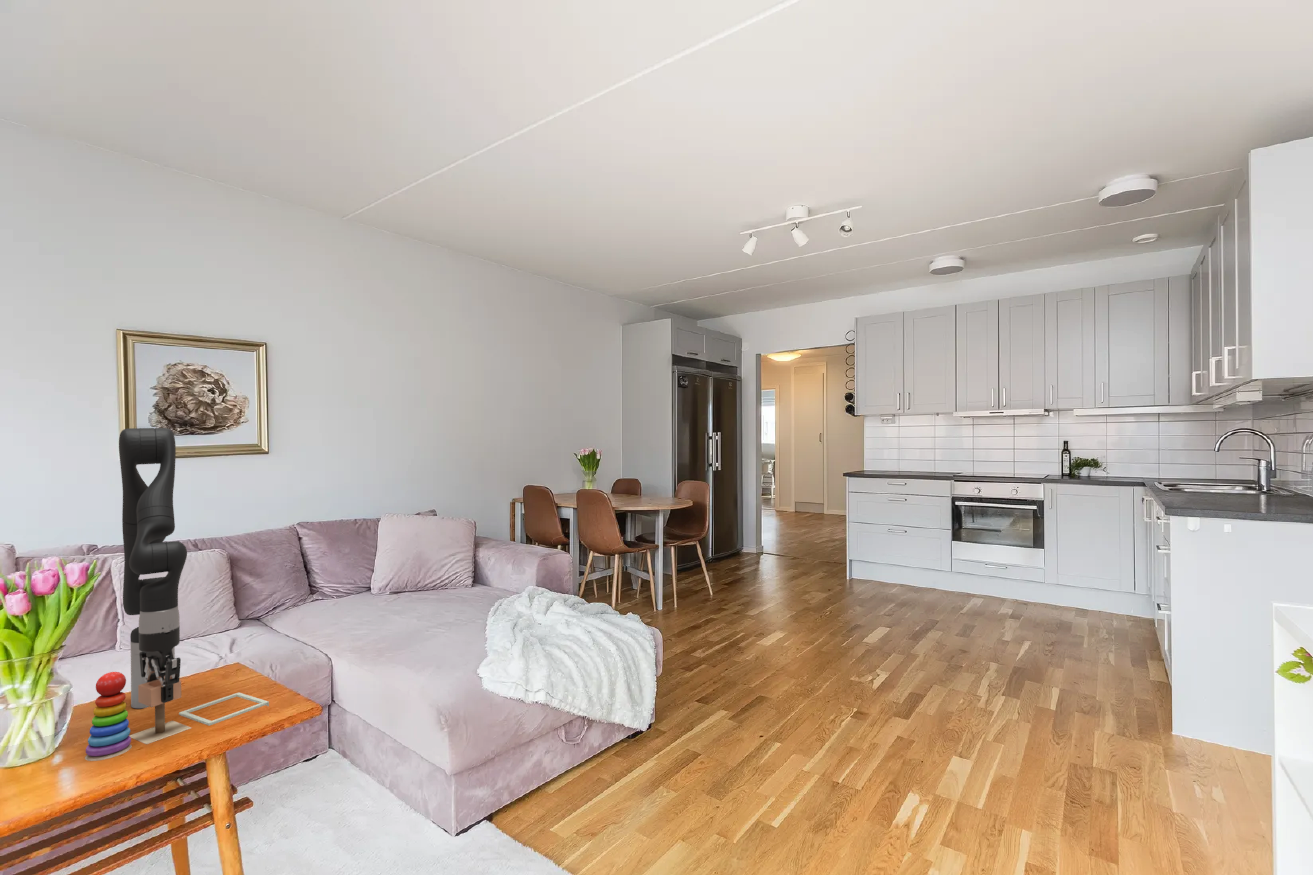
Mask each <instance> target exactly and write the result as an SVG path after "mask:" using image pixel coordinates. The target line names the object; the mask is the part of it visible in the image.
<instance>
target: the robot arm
mask: <svg viewBox="0 0 1313 875" xmlns="http://www.w3.org/2000/svg"><path fill="white" fill-rule="evenodd" d="M176 447H177V446H176V438H175V435H174V432H173V431H172V430H171V429H170V428H166V427H165V428H164V427H142V428H141V427H140V428H138V427H137V428H135V427H134V428H132V427H131V428H123V430H121V432H120V433H119V438H118V452H119V454H118V456H119V463H120V465H119V466H120V472H121V483H122V484H121V485H122V486H121V487H122V511H121V514H122V516H121V518H122V520H121V522H122V541H123V555H124V556H123V557H124V561H123V562H124V564H123V565H124V566H123V583H122V584H123V586H122V606H123V607H122V608H123V611H124V612H125V614H126V615H128V616H138V615H139V616H138V626H136V627H134V629H132V630H131V632H130V639H129V640H130V707H131V708H133V709H147V708H150V707H149V706H147V705H144V704H142V703H139V702H138V685H140V684H144V683H147V682H151V681H154V680H157V679H160V684H161V702H163V703H165V704H166V703H169V702H171V701H172V702H173V701H174V700H173V684H175V683H178V682H179V680H180V674H181V664H182V663H181V657H176V653H175V652H176V650H175V649H176V647H177V646H178V645H179V644H180V642H181V639H180V638H181V637H180V636H181V635H180V630H181V629H180V623H181V622H180V611H179V610H180V609H179V585H180V579H181V576H182V572H183V569H184V567H185V565H186V561H187V558H188V549H187V547H186V546H185V544H184V543H183V542H181V541H178V540H177V541H176V540H173V541H165V540H166V538H167V537H169V536H170V535H173V533H174V531H175V529H176V523H175V510H174V488H175V478H176V477H175V476H176V475H175V474H176V458H177V457H176V455H177V453H176V452H177V448H176ZM155 464H156V465H157V464H159V470H158V472H157V474H156V476H155V477H154V479H153V480H152V481H151V482H150V484H149V485H147V484H146V482H145V481H144V480H143V478H142V476H141V475H140V473H139V470H138V468H137V466H139V465H155ZM166 572H167V574H166V575H165V576H160V577H152V578H142V579H140V576H142V575H144V576H146V575H153V574H160V573H166ZM164 677H165V679H164Z"/></svg>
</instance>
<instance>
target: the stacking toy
mask: <svg viewBox="0 0 1313 875" xmlns="http://www.w3.org/2000/svg"><path fill="white" fill-rule="evenodd" d="M126 683H127V678H126V676H125V675H124V674H123V673H122V672H119V671H109V672H106V673H104V674H103V675H102V676H100V677H99V678H98V680H97V681H96V684H95V691H96V692H97V694H98V695H99V696H98V697H96V699H95V700H94V701H95V702H94V704H95V706H96V707H95V708H93V712H92V713H93V717H92V719H91V723H92V726H91V727H90V729H89V734H90V735H89V737H88V739H87V743H88V745H87V746H86V748H85V756H84V760H86V761H87V762H97V761H104V760H107V759H112V758H116V757H117V756H120V755H123V754H125V753H126V752H128V751H130V750H131V749H132V744H131V743H132V738H131V737H130V736H129V735H131V734H130V733H131V728H130V727H129V724H130V721H129V719H128V715H129V712H128V711H127V710H126V708H127V702H125V700H126V697H127V696H126V694H125V692H123V691H122V690H124V688H125V686H126Z"/></svg>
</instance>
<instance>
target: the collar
mask: <svg viewBox="0 0 1313 875" xmlns="http://www.w3.org/2000/svg"><path fill="white" fill-rule="evenodd" d="M164 679H165V677H164ZM180 698H182V680H180V679H179V682H178V683H175V684H173V700H172V701H174V700H178V699H180ZM138 702H139V703H142V704H144V705H147V706H149V707H148V708H155V706H157V705H160V704H163V702H161V684H160V679H157V680H154V681H151V682H147V683H144V684H140V685H138Z"/></svg>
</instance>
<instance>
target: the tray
mask: <svg viewBox="0 0 1313 875" xmlns="http://www.w3.org/2000/svg"><path fill="white" fill-rule="evenodd" d="M236 697H237V698H241V699H244V700H246V701H249V702H253V703H256V704H254V705H252V706H249V707H246V708H244V709H240V710H239V711H235V712H233V713H230V714H227V715H223V716H221V717H218V718H216V719H214V720H211V719H207V718H204V717H202V716H198V715H195V714H193V712H195V711H199V710H201V709H204V708H206V707H210V706H213V705H216V704H220V703H222V702H225V701H227V700H230V699H234V698H236ZM264 706H266V707H270V701H267V700H264V699H261V698H258V697H255V696H252V695H248V694H245V693H242V692H236V693H233V694H230V695H227V696H224V697H221V698H218V699H215V700H212V701H209V702H206V703H202V704H200V705H198V706H194V707H191V708H188V709H185V710H183V711H180V712H178V715H179V716H181V717H184V718H187V719H190V720H192V721H194V722H198V723H200V724H203V725H206V726H212V725H215V724H218V723H220V722H223V721H226V720H228V719H233V718H234V717H237V716H239V715H240V716H241V715H242V714H245V713H247V712H250V711H251V712H252V711H253V710H257V709H259V708H262V707H264Z"/></svg>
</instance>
